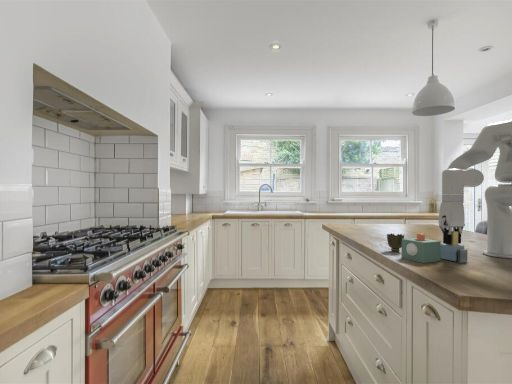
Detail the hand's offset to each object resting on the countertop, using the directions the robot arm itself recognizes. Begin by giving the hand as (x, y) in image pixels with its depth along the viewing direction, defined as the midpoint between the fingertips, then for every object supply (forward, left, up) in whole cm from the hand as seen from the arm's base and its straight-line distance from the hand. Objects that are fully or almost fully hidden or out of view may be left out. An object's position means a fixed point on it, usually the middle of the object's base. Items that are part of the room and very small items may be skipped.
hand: (452, 243), depth 122 cm
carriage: (0, 0, -7) cm, 7 cm away
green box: (+11, -6, -7) cm, 14 cm away
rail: (0, -5, -7) cm, 9 cm away
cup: (+7, -22, -7) cm, 24 cm away
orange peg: (+11, -6, -4) cm, 13 cm away
